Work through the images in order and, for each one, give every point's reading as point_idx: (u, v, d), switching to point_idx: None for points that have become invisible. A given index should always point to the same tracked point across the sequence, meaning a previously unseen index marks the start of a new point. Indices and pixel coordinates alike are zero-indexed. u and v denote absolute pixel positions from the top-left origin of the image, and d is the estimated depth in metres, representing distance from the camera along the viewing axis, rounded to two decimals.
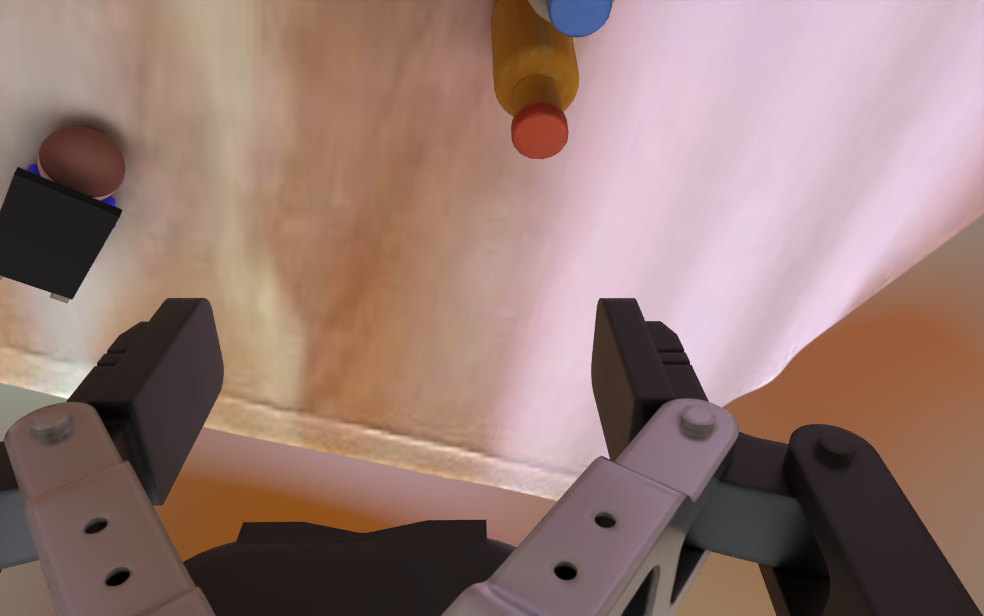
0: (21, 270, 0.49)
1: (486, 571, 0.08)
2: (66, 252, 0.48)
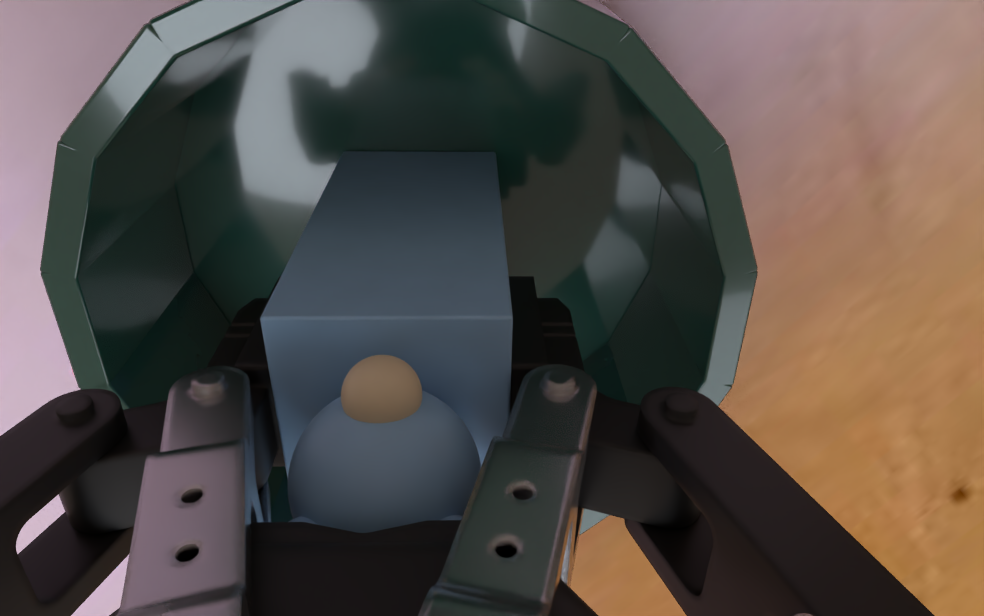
0: None
1: None
2: None
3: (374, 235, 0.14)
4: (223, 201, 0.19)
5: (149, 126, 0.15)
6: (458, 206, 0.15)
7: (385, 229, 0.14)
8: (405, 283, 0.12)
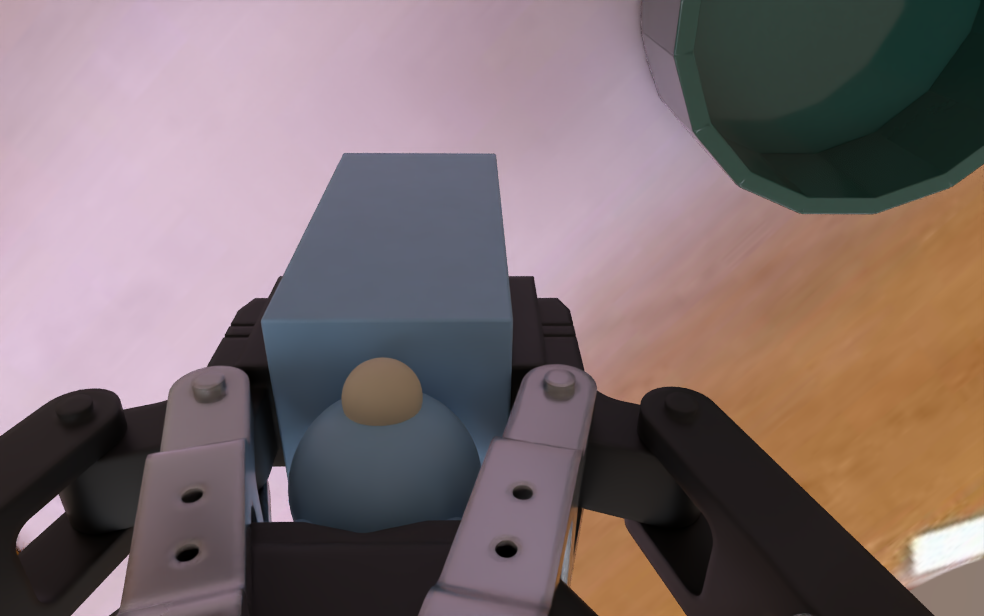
0: None
1: None
2: None
3: (375, 237, 0.14)
4: None
5: None
6: (459, 208, 0.15)
7: (385, 231, 0.14)
8: (405, 285, 0.12)
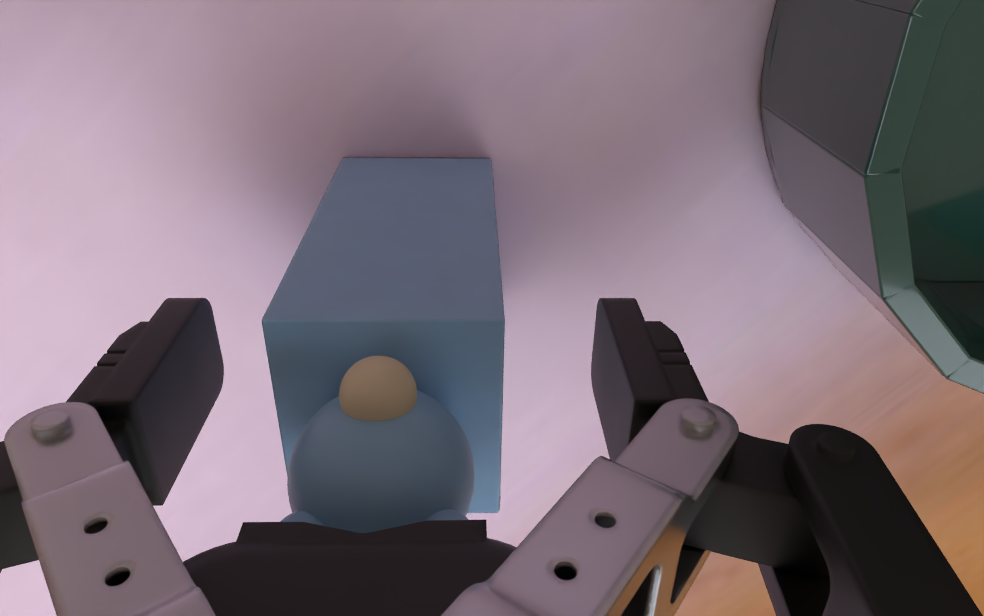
0: None
1: (486, 571, 0.08)
2: None
3: (373, 241, 0.14)
4: None
5: None
6: (454, 211, 0.16)
7: (383, 234, 0.15)
8: (401, 287, 0.13)
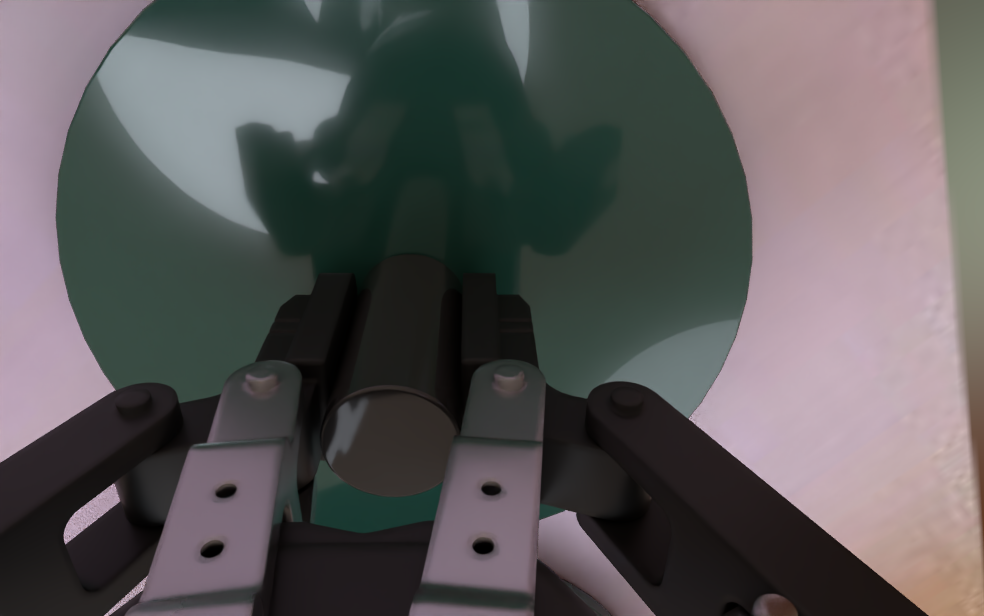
0: None
1: None
2: None
3: None
4: None
5: None
6: None
7: None
8: None
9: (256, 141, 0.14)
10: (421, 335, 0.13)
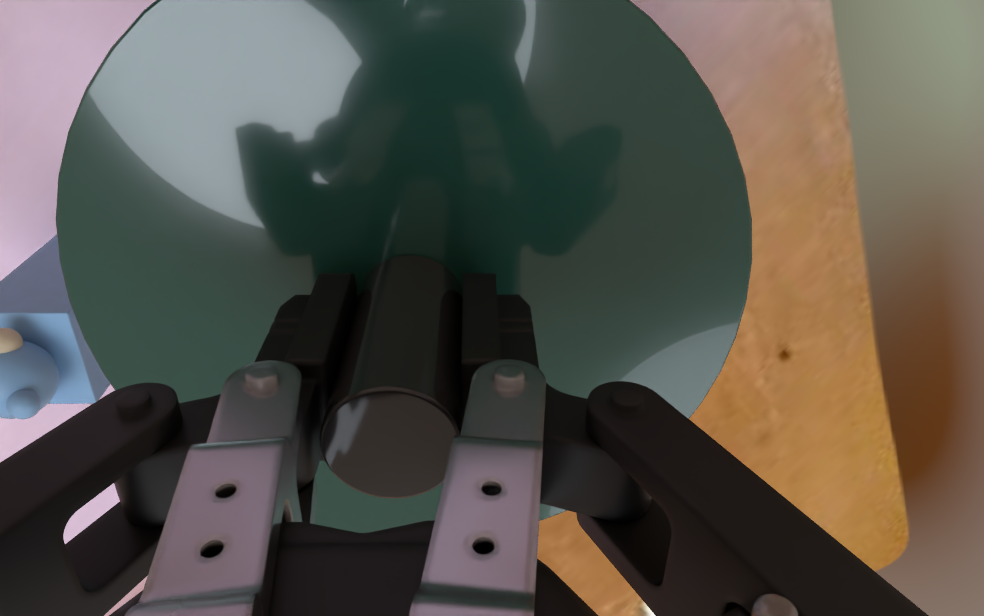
0: None
1: None
2: None
3: (41, 275, 0.30)
4: None
5: None
6: None
7: (49, 271, 0.31)
8: (35, 298, 0.29)
9: (256, 142, 0.14)
10: (420, 336, 0.13)
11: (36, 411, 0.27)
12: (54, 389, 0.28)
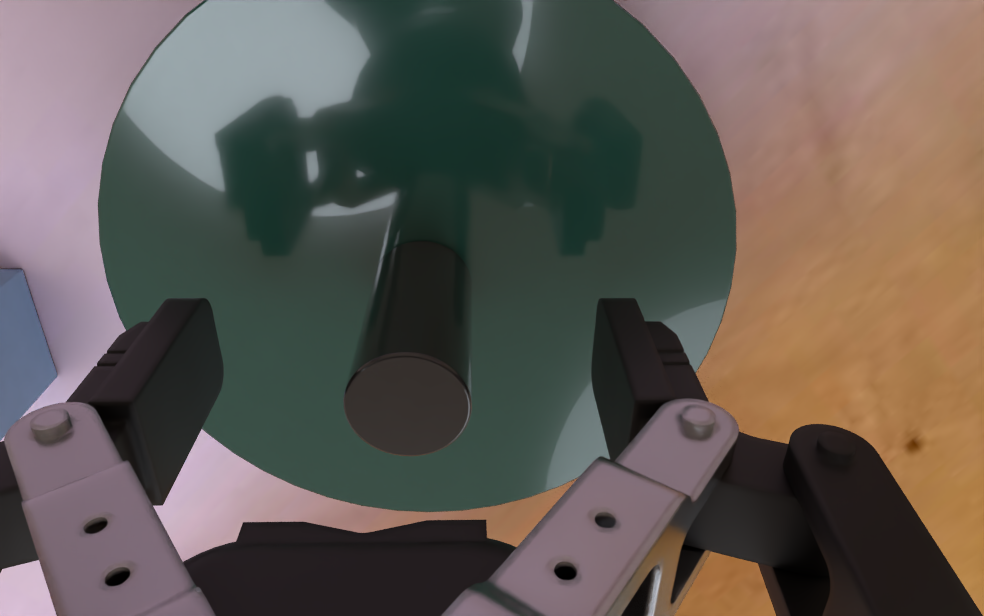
0: None
1: (486, 571, 0.08)
2: None
3: None
4: None
5: None
6: None
7: None
8: None
9: (284, 135, 0.16)
10: (434, 311, 0.14)
11: None
12: None
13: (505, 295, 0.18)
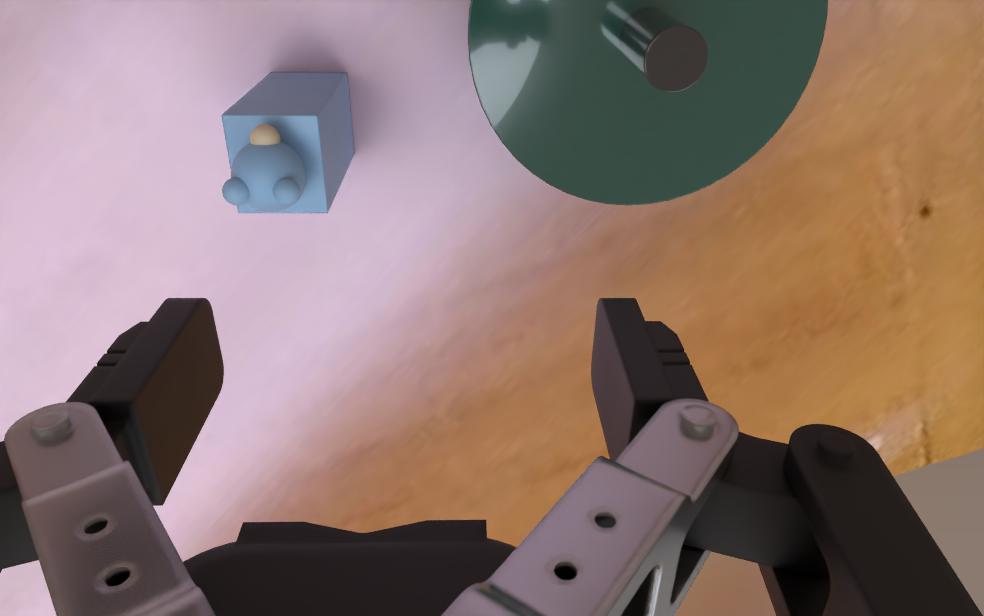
0: None
1: (486, 571, 0.08)
2: None
3: (274, 97, 0.33)
4: None
5: None
6: (316, 89, 0.34)
7: (279, 95, 0.33)
8: (280, 108, 0.31)
9: None
10: (680, 21, 0.27)
11: (298, 198, 0.29)
12: (304, 187, 0.30)
13: None
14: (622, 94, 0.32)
